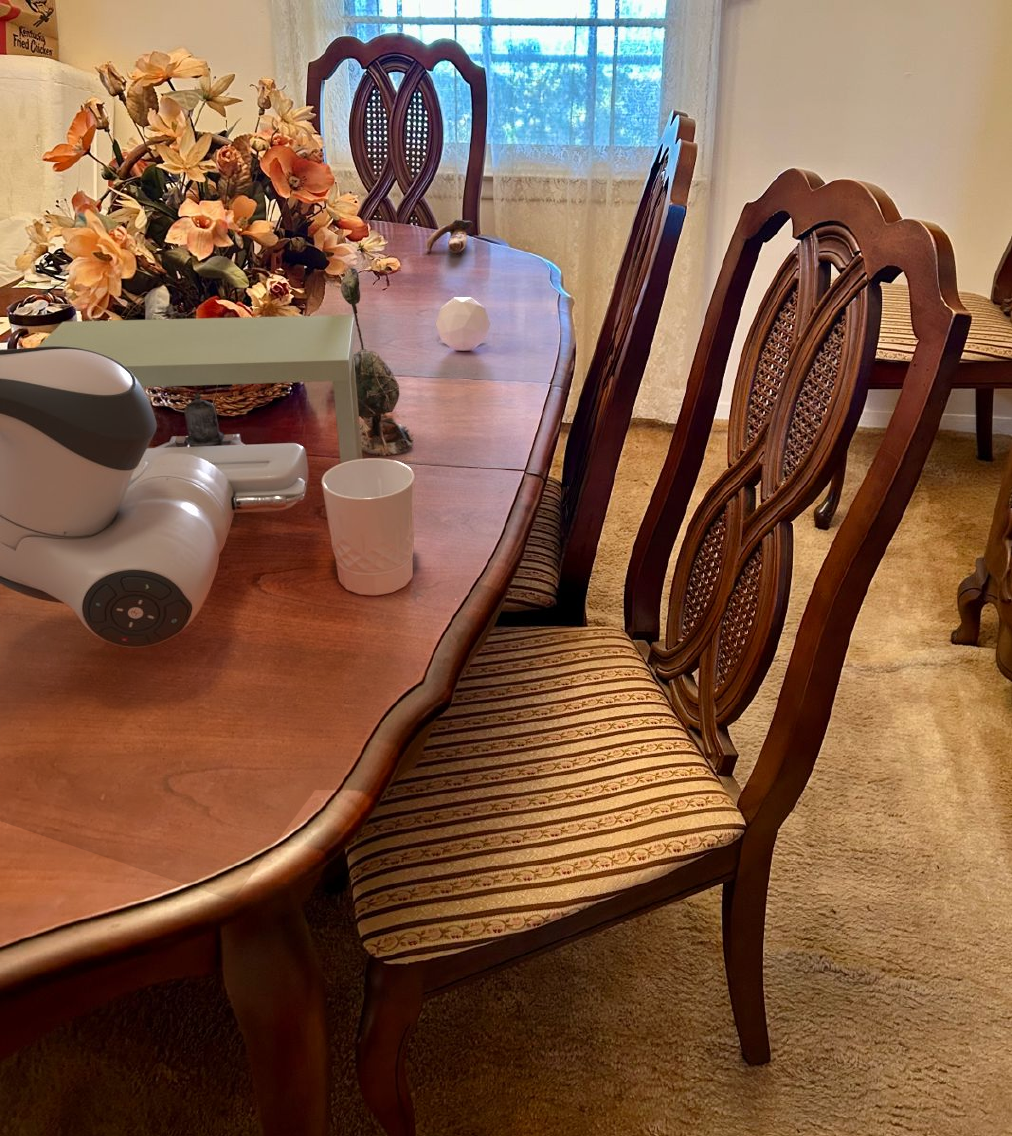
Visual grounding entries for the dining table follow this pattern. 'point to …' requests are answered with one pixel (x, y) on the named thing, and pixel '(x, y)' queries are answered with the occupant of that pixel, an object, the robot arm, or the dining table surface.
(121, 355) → the side table
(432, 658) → the dining table surface
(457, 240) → the lashed bone hook
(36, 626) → the dining table surface
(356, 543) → the white cup
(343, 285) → the plant with pod
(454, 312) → the geometric ball
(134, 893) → the dining table surface
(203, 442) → the salt shaker
